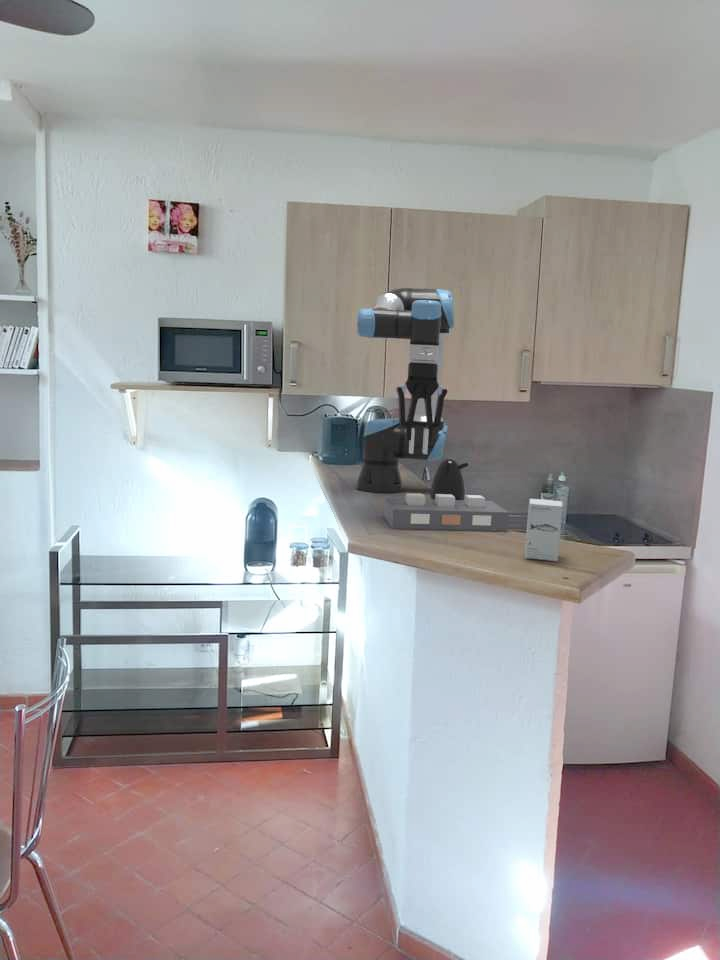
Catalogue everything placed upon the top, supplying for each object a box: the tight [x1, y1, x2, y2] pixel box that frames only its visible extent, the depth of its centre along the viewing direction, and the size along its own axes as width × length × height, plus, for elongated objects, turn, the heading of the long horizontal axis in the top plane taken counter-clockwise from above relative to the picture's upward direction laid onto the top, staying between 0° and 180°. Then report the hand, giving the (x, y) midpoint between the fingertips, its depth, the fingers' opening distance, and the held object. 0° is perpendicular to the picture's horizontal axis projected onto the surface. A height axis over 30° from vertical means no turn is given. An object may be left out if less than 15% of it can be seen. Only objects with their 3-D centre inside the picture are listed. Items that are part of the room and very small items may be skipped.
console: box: [382, 497, 510, 532], centre depth 209 cm, size 16×30×5 cm, turn 96°
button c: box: [464, 494, 486, 508], centre depth 210 cm, size 4×4×4 cm
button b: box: [435, 494, 455, 507], centre depth 209 cm, size 4×4×4 cm
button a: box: [404, 492, 426, 506], centre depth 208 cm, size 4×4×4 cm
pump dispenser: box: [429, 458, 469, 500], centre depth 227 cm, size 10×10×15 cm
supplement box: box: [524, 498, 564, 563], centre depth 177 cm, size 7×7×13 cm
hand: (417, 453), depth 206 cm, fingers open, 3 cm apart
